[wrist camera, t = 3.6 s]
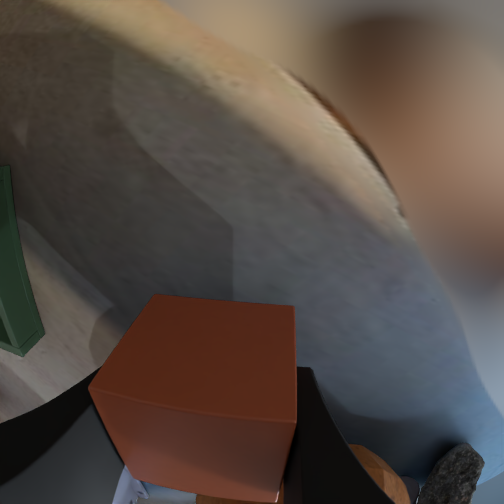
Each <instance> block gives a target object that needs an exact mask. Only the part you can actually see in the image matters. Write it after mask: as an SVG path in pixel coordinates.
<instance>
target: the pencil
mask: <svg viewBox="0 0 504 504" xmlns="http://www.w3.org/2000/svg"><path fill="white" fill-rule="evenodd" d="M400 478H401V480H402V481H403V483H404V484H405V486H406V488H407V492H408V495H409V498H410V504H416V502H417V498H418V496H419V492H420V488H419V484H418V482H417V481H416V480H415V479H414V478H411V477H408V476H400Z"/></svg>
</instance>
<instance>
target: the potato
mask: <svg viewBox="0 0 504 504" xmlns="http://www.w3.org/2000/svg"><path fill="white" fill-rule="evenodd" d="M349 446H350V448H351V449H352V451H353V452H354V454H355V455H356V457H357V458H358V460H359V461H360V462H361V464H362V465H363V466H364V468H365V469H366V470H367V472H368V473H369V474H370V476H371V477H372V478H373V479H374V480H375V482H376V483H377V484H378V485H379V486H380V488H381V489H382V490H383V491H384V492H385V493H386V494H387V495H388V496H389V497H390V498H391V499H392V500H393V501H394V502H395V503H396V504H410V498H409V495H408V492H407V488H406V486H405V484H404V483H403V481H402V480H401V478H400V477H399V476H398V475H397V474H396V473H395V472H394V471H393V470H392V468H391V467H390V466H389V465H388V464H387V463H386V462H385V461H384V460H383V459H381V458H380V457H379V456H377V455H376V454H375V453H373V452H371V451H370V450H368V449H367V448H365V447H364V446H362V445H356V444H349ZM196 504H283V481H282V485H281V489H280V492H279V496H278V500H277V502H275V503H271V502H256V501H245V500H236V499H227V498H220V497H213V496H207V495H201V494H197V497H196Z"/></svg>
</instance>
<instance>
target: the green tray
mask: <svg viewBox="0 0 504 504" xmlns="http://www.w3.org/2000/svg"><path fill="white" fill-rule="evenodd" d="M44 335H45V332H44V329H43V326H42V323H41V320H40V317H39V314H38V310H37V307H36V304H35V301H34V297H33V294H32V290H31V286H30V283H29V279H28V275H27V271H26V267H25V263H24V258H23V254H22V249H21V244H20V239H19V234H18V228H17V222H16V216H15V209H14V202H13V194H12V185H11V174H10V165H6V166H1V167H0V348H2V349H4V350H6V351H9V352H11V353H13V354H16V355H18V356H21V357H24V356H25V354H26V353H27V352H28V351H29V350H30V349H31V348H32V347H33V346H34V345H35V344H36V343H37V342H38V341H39V340H40V338H42V337H43V336H44Z"/></svg>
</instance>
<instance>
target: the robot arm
mask: <svg viewBox="0 0 504 504" xmlns="http://www.w3.org/2000/svg"><path fill="white" fill-rule="evenodd" d="M102 366H103V365H102ZM102 366H101V367H102ZM101 367H100V368H98V369H97V370H96V371H94V372H93V373H92V374H90V375H89V376H87V377H86V378H85V379H83V380H82V381H80V382H79V383H77V384H76V385H74V386H73V387H71V388H70V389H68V390H67V391H65V392H64V393H62V394H60V395H59V396H57V397H56V398H54V399H52V400H51V401H49V402H47V403H45V404H43V405H41V406H40V407H38V408H36V409H34V410H32V411H30V412H27V413H25V414H23V415H20V416H18V417H15V418H13V419H10V420H8V421H5V422H3V423H0V504H135V503H136V501H137V498H138V497H141V498H144V499H148V497H149V495H148V493H147V492H146V490H145V489H144V487H143V485H142V484H141V482H140V480H136V479H134V478H133V477H132V476H131V474H130V472H129V470H128V469H127V467H126V465H125V464H124V462H123V460H122V458H121V456H120V455H119V453H118V451H117V449H116V447H115V445H114V443H113V441H112V440H111V438H110V436H109V434H108V432H107V430H106V428H105V425H104V423H103V421H102V419H101V417H100V415H99V413H98V411H97V408H96V406H95V404H94V402H93V399H92V397H91V395H90V392H89V390H88V386H89V385H90V383H91V382H92V380H93V379H94V377H95V376H96V374H97V373H98V371H99V370H100V369H101ZM296 372H297V423H296V428H295V432H294V437H293V441H292V445H291V449H290V454H289V458H288V462H287V466H286V470H285V474H284V477H283V504H396V503H395V502H394V501H393V500H392V499H391V498H390V497H389V496H388V495H387V494H386V493H385V492H384V491H383V490H382V489H381V488H380V486H379V485H378V484H377V483H376V482H375V480H374V479H373V478H372V477H371V476H370V474H369V473H368V472H367V470H366V469H365V468H364V466H363V465H362V464H361V462H360V461H359V460H358V458H357V457H356V455H355V454H354V452H353V451H352V449H351V448H350V446H349V444H348V443H347V441H346V440H345V438H344V436H343V435H342V433H341V431H340V429H339V428H338V426H337V424H336V422H335V420H334V418H333V416H332V415H331V413H330V411H329V409H328V407H327V405H326V403H325V400H324V398H323V396H322V394H321V391H320V389H319V386H318V384H317V381H316V379H315V376H314V373H313V370H312V369H311V368H310V367H296Z"/></svg>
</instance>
